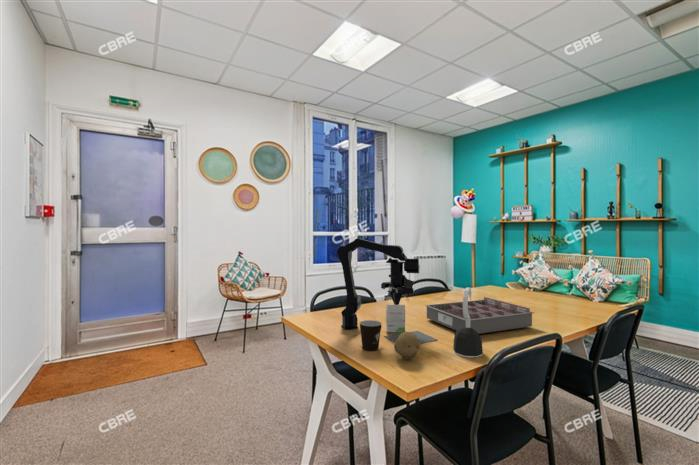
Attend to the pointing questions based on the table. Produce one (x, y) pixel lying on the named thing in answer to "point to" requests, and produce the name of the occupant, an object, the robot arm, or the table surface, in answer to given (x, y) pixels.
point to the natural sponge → (407, 345)
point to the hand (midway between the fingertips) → (396, 306)
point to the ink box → (395, 318)
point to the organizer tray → (481, 315)
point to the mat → (421, 336)
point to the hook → (467, 334)
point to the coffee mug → (370, 334)
